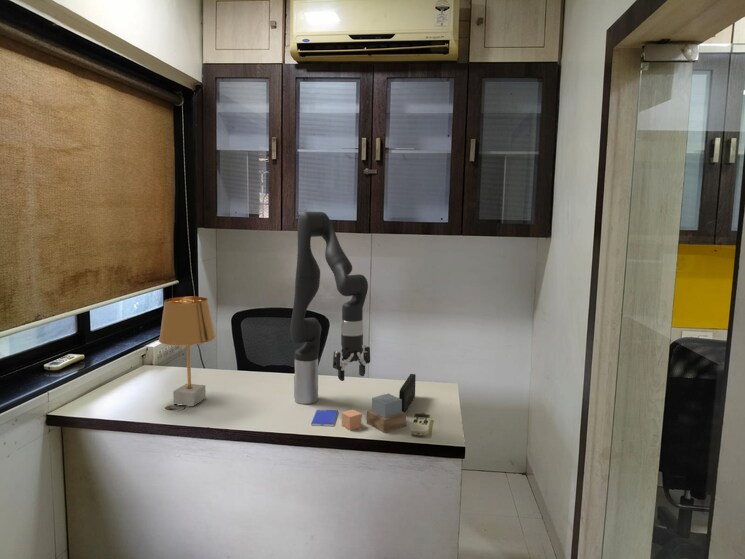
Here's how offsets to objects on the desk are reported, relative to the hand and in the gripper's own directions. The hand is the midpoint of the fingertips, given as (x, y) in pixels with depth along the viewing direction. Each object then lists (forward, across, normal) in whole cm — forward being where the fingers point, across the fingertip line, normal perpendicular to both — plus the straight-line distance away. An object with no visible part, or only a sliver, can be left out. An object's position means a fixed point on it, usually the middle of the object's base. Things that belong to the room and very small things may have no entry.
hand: (351, 377), depth 179 cm
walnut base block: (+18, -11, +6) cm, 22 cm away
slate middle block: (+13, -11, +6) cm, 18 cm away
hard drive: (+18, +4, -11) cm, 22 cm away
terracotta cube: (+18, 0, 0) cm, 18 cm away
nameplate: (+18, -29, -3) cm, 34 cm away
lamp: (+18, +38, -56) cm, 70 cm away
